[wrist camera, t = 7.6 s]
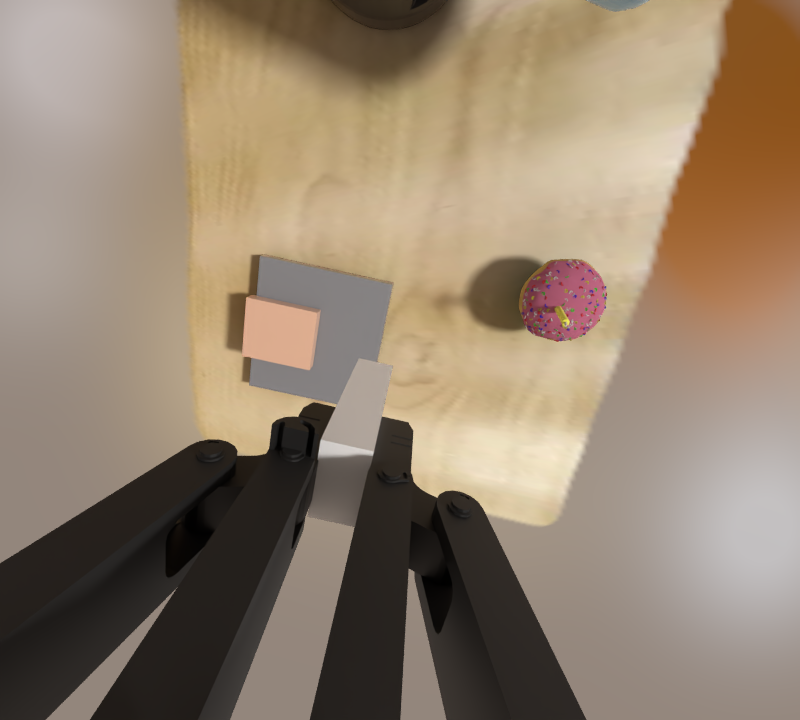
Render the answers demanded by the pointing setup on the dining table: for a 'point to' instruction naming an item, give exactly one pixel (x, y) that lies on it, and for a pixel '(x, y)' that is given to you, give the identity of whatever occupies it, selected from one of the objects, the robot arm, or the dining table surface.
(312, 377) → the board
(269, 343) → the tile
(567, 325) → the cupcake
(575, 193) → the dining table surface
